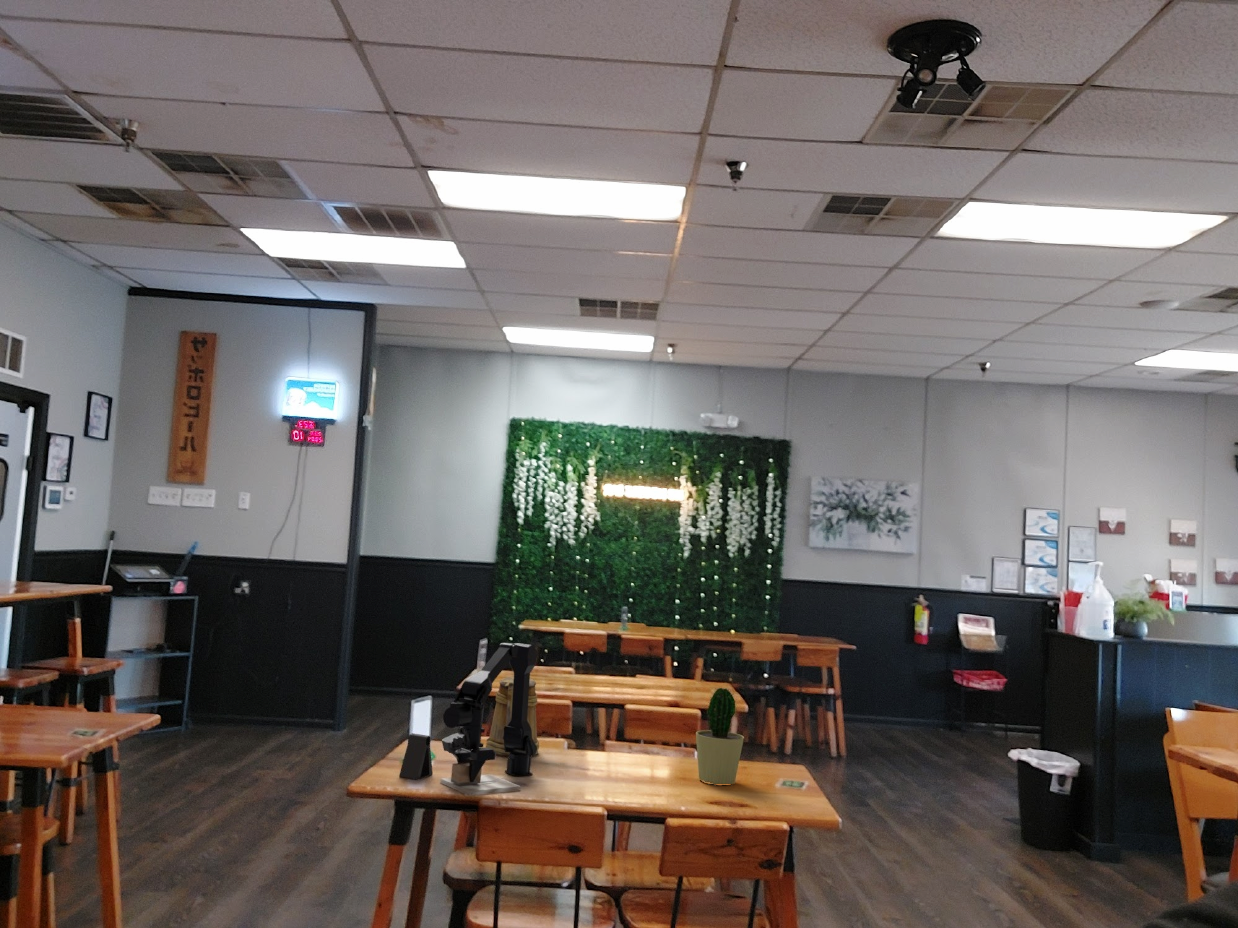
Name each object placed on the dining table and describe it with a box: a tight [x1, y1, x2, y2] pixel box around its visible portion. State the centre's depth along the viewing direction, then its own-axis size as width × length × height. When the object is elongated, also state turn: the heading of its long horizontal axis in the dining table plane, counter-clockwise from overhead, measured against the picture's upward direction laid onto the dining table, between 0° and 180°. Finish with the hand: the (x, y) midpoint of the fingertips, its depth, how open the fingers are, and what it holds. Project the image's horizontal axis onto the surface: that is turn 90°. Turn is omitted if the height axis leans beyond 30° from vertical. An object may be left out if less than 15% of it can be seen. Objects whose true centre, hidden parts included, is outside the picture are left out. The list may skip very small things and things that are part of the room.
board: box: [440, 773, 522, 797], centre depth 293 cm, size 17×16×1 cm
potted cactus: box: [695, 687, 745, 785], centre depth 325 cm, size 15×15×30 cm
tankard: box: [485, 675, 540, 758], centre depth 344 cm, size 18×24×25 cm
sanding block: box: [450, 762, 483, 785], centre depth 290 cm, size 7×4×5 cm, turn 129°
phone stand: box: [398, 732, 434, 781], centre depth 300 cm, size 9×6×12 cm, turn 160°
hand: (467, 779), depth 290 cm, fingers closed on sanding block, 4 cm apart
